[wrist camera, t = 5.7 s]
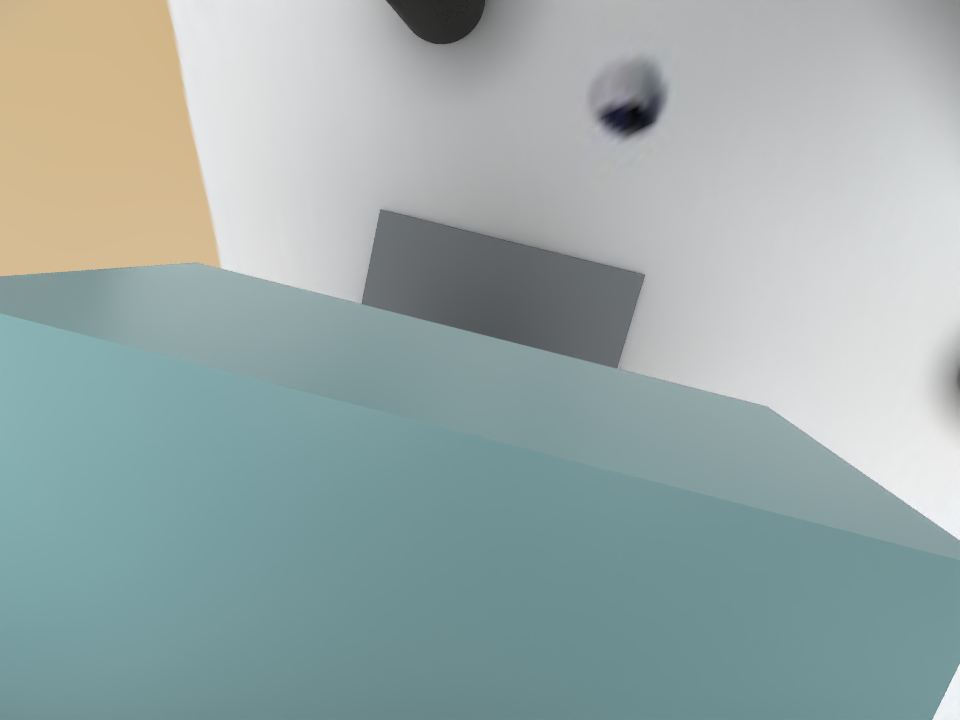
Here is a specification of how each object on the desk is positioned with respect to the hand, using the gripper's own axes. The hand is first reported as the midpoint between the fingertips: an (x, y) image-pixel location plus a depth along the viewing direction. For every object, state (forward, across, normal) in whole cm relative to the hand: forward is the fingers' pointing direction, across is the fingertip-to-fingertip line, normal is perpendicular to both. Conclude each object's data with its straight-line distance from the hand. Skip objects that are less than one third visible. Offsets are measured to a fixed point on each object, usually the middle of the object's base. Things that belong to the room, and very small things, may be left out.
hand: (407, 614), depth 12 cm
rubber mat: (+25, 0, 0) cm, 25 cm away
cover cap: (+1, 0, 0) cm, 1 cm away
